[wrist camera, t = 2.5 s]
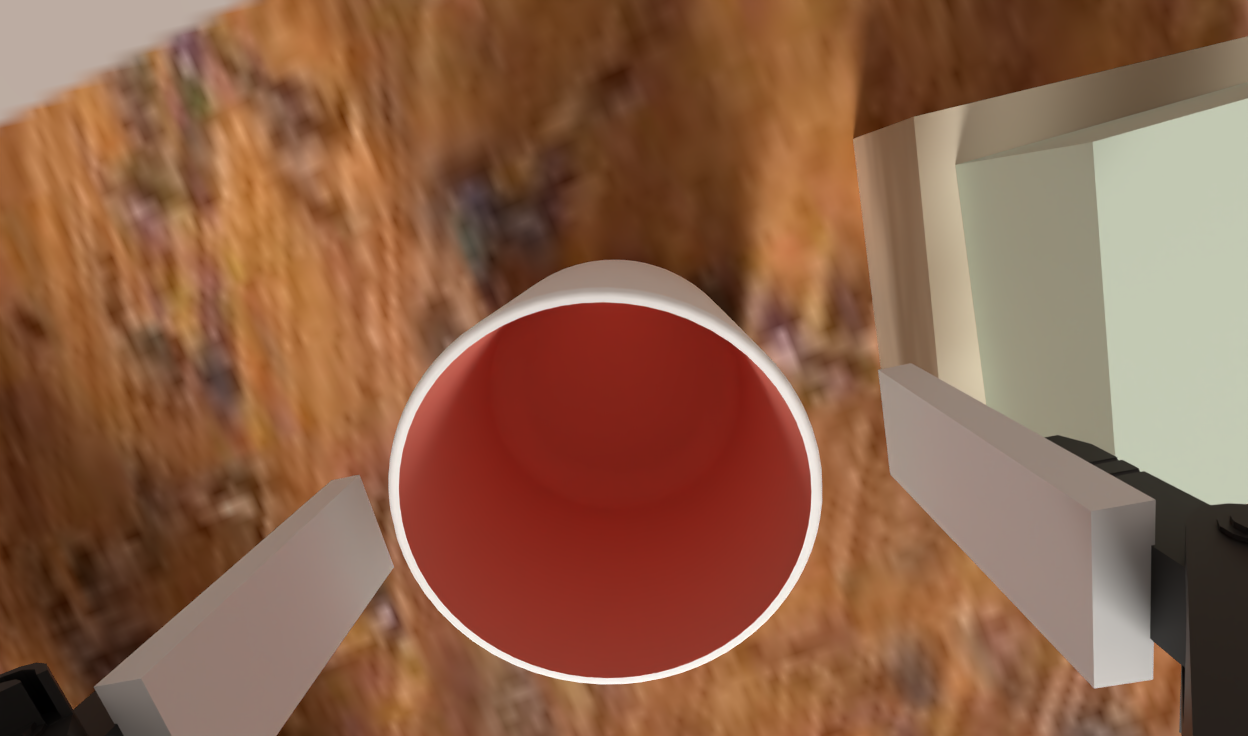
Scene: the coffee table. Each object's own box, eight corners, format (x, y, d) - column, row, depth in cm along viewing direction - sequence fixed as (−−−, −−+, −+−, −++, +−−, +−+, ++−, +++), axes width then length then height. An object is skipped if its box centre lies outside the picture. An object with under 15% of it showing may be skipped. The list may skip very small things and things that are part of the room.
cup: (463, 283, 22) (328, 333, 12) (723, 234, 21) (800, 247, 12) (521, 516, 24) (449, 713, 15) (756, 478, 24) (843, 657, 14)
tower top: (992, 449, 18) (1120, 532, 14) (955, 165, 16) (1092, 142, 11) (1287, 378, 18) (1536, 438, 13) (1290, 69, 16) (1589, 2, 11)
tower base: (885, 442, 24) (950, 499, 19) (848, 140, 21) (913, 116, 16) (1187, 381, 23) (1336, 424, 18) (1192, 57, 20) (1372, 6, 15)
